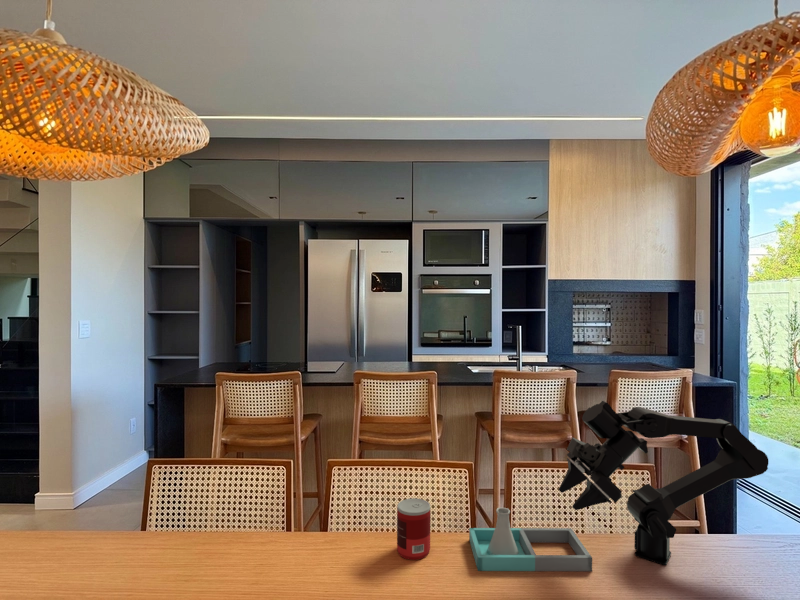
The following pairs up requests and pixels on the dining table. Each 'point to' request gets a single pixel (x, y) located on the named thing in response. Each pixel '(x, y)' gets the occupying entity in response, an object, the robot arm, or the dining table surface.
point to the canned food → (413, 528)
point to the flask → (502, 535)
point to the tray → (530, 551)
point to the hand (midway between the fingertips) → (566, 499)
